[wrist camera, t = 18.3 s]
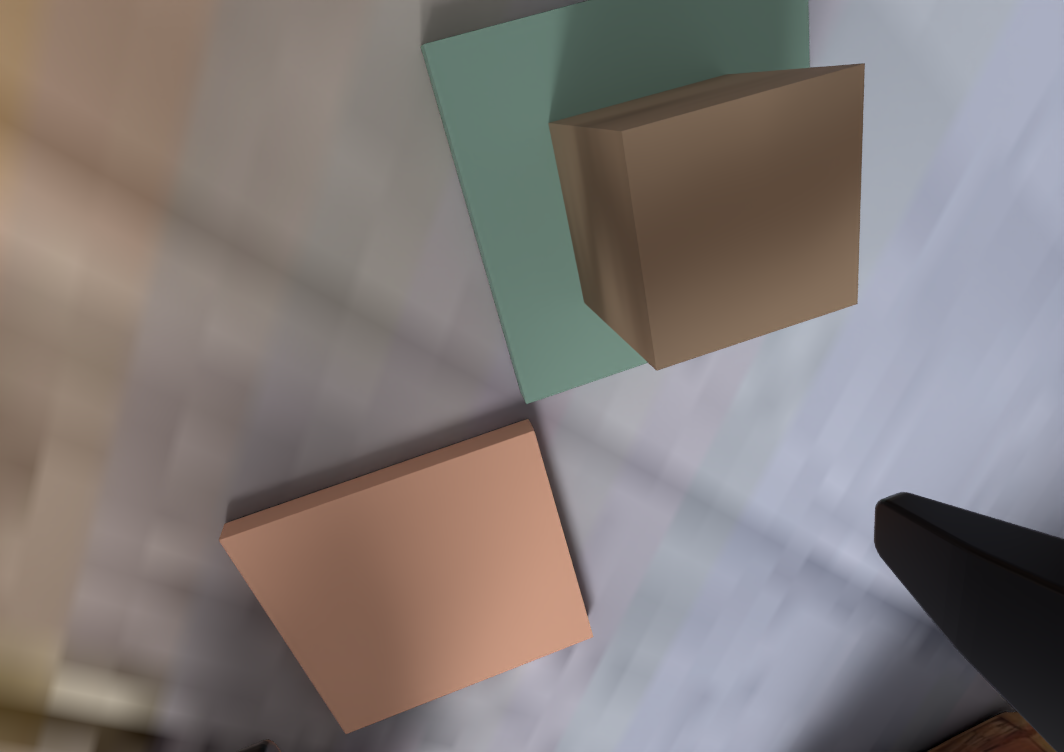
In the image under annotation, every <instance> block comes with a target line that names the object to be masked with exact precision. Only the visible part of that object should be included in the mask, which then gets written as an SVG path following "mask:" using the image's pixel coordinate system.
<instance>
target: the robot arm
mask: <svg viewBox="0 0 1064 752" xmlns="http://www.w3.org/2000/svg"><path fill="white" fill-rule="evenodd" d="M874 543H875V547H876V549H877V552H878V553H879V555H880V557H881V558H882V559H883V561H884V562H885V563H886V564H887V566H888V567H889V568H890V569H891V570H892V572H893V573H894V574H895V575H896V577H897V578H898V579H899V580H900V581H901V583H902V584H903V585H904V586H905V588H906V589H907V590H908V591H909V592H910V594H911V595H912V596H913V597H914V599H915V600H916V601H917V602H918V603H919V605H920V606H921V607H922V608H923V610H924V611H925V612H926V613H927V615H928V616H929V617H930V618H931V619H932V621H933V622H934V623H935V624H936V626H937V627H938V628H939V629H940V630H941V632H942V633H943V634H944V635H945V636H946V637H947V639H948V640H949V641H950V642H951V643H952V644H953V646H954V647H955V648H956V649H957V650H958V651H959V652H960V653H961V654H962V655H963V656H964V657H965V658H966V660H967V661H968V662H969V663H970V664H971V665H972V666H973V667H974V668H975V669H976V670H977V671H978V672H979V673H980V674H981V675H982V676H983V677H984V678H985V679H986V680H987V681H988V682H989V683H990V684H991V685H992V686H993V687H994V688H995V689H996V690H997V691H998V692H999V693H1000V694H1001V695H1002V696H1003V697H1004V699H1005V700H1006V701H1007V702H1008V703H1009V704H1010V705H1011V706H1012V707H1013V708H1014V709H1015V710H1016V711H1017V712H1018V713H1019V714H1020V715H1021V716H1022V717H1023V718H1024V719H1025V720H1026V721H1027V722H1028V723H1029V724H1030V725H1031V726H1032V727H1033V728H1034V729H1035V730H1036V731H1037V732H1038V733H1039V734H1040V735H1041V736H1042V737H1043V738H1044V739H1045V741H1046V742H1047V743H1048V744H1049V745H1050V746H1051V747H1052V748H1053V749H1054V750H1055V751H1056V752H1064V539H1062V538H1059V537H1055V536H1052V535H1049V534H1045V533H1042V532H1039V531H1035V530H1032V529H1029V528H1025V527H1022V526H1019V525H1015V524H1012V523H1009V522H1005V521H1002V520H999V519H995V518H992V517H988V516H985V515H982V514H978V513H975V512H972V511H968V510H965V509H962V508H958V507H955V506H952V505H948V504H945V503H942V502H938V501H935V500H932V499H928V498H925V497H921V496H918V495H915V494H911V493H907V492H900V493H896V494H894V495H891V496H889V497H886V498H884V499H881V500H880V501H878V503H877V504H876V507H875V526H874ZM238 752H281V751H280V749H279V748H278V746H277V745H276V744H275V743H274V742H273V741H271V740H263V741H261V742H258V743H256V744H253V745H250V746H248V747H245V748H243V749H241V750H239V751H238Z"/></svg>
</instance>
